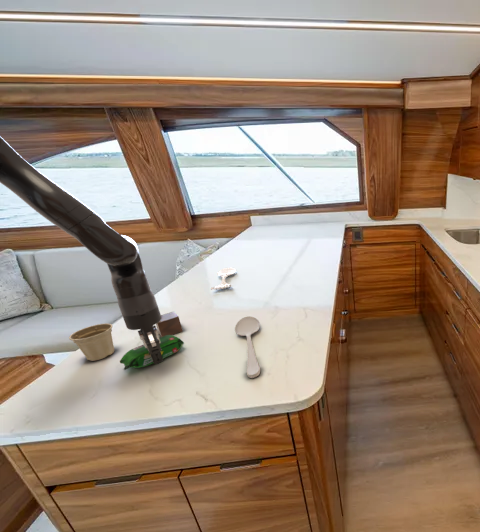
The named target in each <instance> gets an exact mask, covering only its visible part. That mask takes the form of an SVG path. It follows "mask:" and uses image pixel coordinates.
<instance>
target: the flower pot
mask: <svg viewBox="0 0 480 532" xmlns="http://www.w3.org/2000/svg"><path fill="white" fill-rule="evenodd" d="M112 328H113V324H111V323H97V324H93V325H90V326H86V327H84V328H81V329H79V330H76V331H75V332H72V334H70V335H69V337H68V339H69V340H70V341H72V342H73V343H74V344H76V346H77V348H79V350H80V351H81V352H82V354H83V355H84V357H85V358H86V360H87V361H91V362H95V361H99V360H103V359H105V358H106V357H108V356H111V355H112V354H114V353H115V346H114V341H113V334H112V332H113V329H112Z"/></svg>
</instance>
